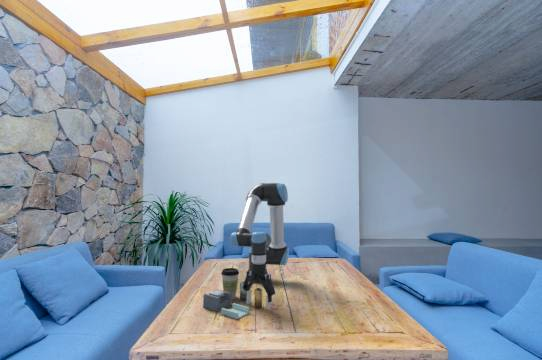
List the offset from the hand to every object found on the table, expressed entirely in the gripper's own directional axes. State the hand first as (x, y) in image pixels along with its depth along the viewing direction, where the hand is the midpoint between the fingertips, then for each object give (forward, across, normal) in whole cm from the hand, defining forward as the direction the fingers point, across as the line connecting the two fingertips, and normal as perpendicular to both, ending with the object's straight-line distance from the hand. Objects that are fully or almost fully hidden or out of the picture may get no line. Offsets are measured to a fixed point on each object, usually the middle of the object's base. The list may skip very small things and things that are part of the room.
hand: (258, 305), depth 159 cm
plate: (-5, -18, -11) cm, 22 cm away
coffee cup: (+1, -22, +3) cm, 22 cm away
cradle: (+1, -18, -11) cm, 21 cm away
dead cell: (+1, -13, +4) cm, 14 cm away
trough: (+1, -4, -13) cm, 14 cm away
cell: (+1, 0, 0) cm, 1 cm away
